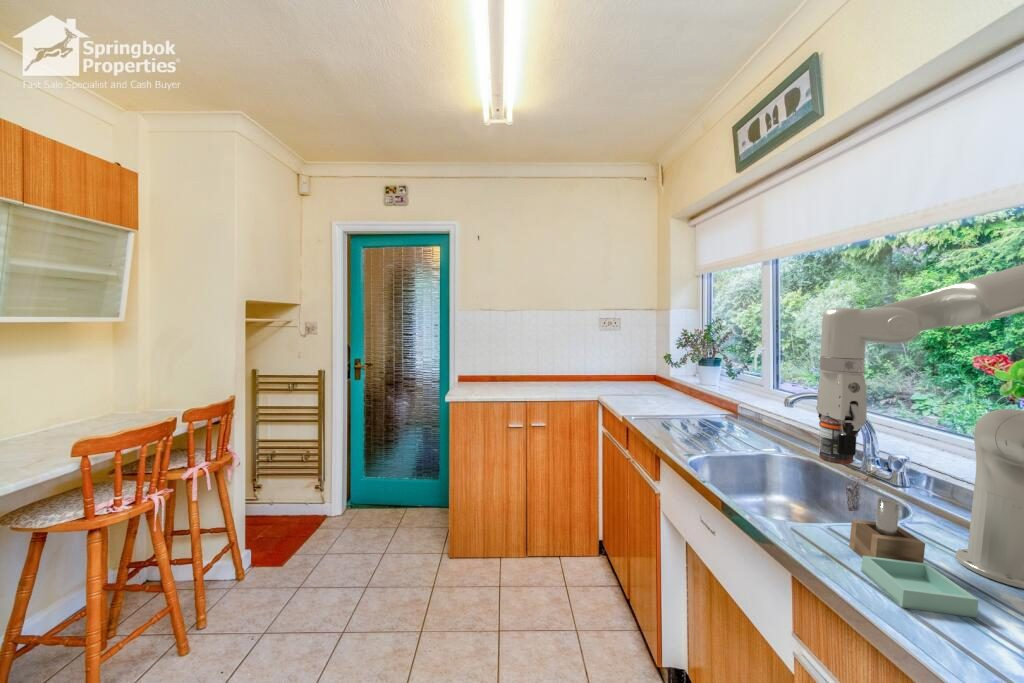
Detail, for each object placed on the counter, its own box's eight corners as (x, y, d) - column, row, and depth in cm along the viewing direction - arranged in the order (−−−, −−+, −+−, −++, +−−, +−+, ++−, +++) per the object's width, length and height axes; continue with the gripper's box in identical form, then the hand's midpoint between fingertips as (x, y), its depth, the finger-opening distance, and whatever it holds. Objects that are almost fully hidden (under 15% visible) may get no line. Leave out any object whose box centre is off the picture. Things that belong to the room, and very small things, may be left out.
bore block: (892, 552, 89) (894, 523, 89) (922, 574, 81) (925, 543, 81) (849, 547, 91) (851, 519, 90) (874, 568, 83) (877, 538, 82)
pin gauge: (887, 556, 87) (892, 498, 87) (898, 565, 84) (903, 505, 84) (869, 554, 88) (874, 496, 87) (880, 563, 85) (885, 503, 84)
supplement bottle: (841, 457, 96) (844, 406, 95) (860, 466, 90) (863, 412, 89) (812, 456, 96) (815, 405, 96) (829, 464, 90) (832, 411, 90)
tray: (924, 579, 80) (926, 563, 80) (976, 617, 69) (978, 599, 69) (861, 571, 82) (862, 555, 81) (902, 607, 71) (903, 589, 71)
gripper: (889, 371, 83) (883, 463, 84) (837, 363, 100) (832, 440, 101) (846, 369, 84) (840, 460, 85) (801, 362, 101) (797, 438, 102)
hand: (836, 448), depth 93 cm, fingers closed on supplement bottle, 6 cm apart
